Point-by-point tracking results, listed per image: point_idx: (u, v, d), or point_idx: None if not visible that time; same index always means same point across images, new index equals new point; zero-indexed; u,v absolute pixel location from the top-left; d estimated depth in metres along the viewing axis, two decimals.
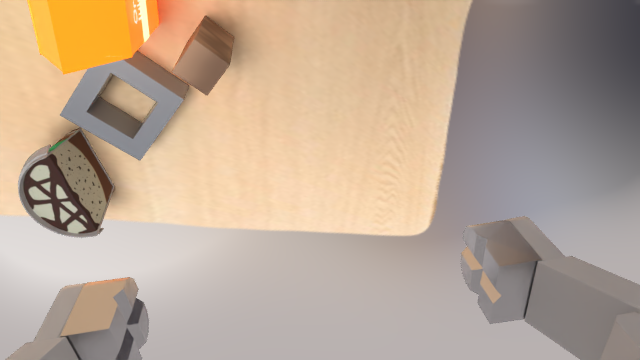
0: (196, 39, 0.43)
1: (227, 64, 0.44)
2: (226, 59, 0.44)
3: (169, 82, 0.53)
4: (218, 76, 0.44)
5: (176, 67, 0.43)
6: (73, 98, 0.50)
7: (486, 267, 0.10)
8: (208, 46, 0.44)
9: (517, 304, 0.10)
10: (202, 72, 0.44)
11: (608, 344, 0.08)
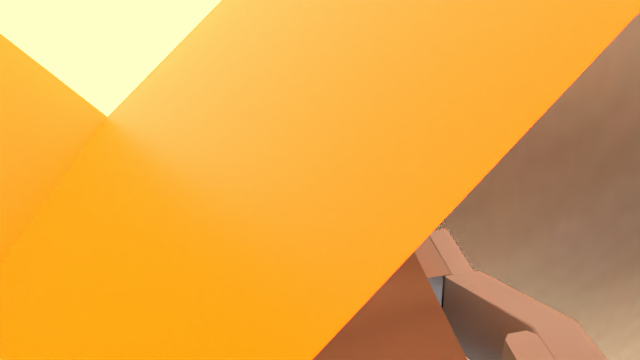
0: None
1: None
2: None
3: None
4: None
5: None
6: None
7: None
8: None
9: None
10: None
11: None
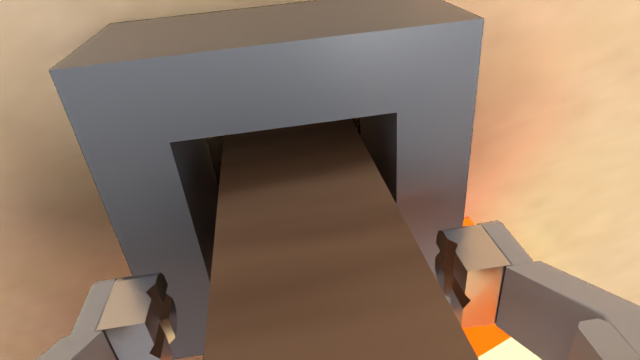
0: None
1: None
2: None
3: None
4: None
5: None
6: (461, 126, 0.12)
7: (456, 271, 0.10)
8: None
9: (487, 309, 0.10)
10: None
11: (572, 350, 0.08)
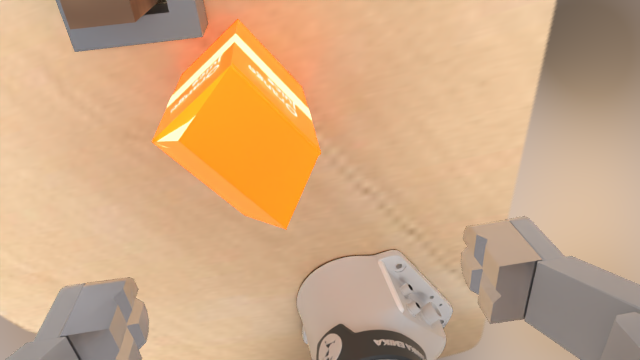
0: None
1: (132, 19, 0.28)
2: (136, 12, 0.29)
3: None
4: (107, 21, 0.28)
5: None
6: None
7: (486, 266, 0.10)
8: None
9: (517, 304, 0.10)
10: None
11: (608, 344, 0.08)
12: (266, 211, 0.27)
